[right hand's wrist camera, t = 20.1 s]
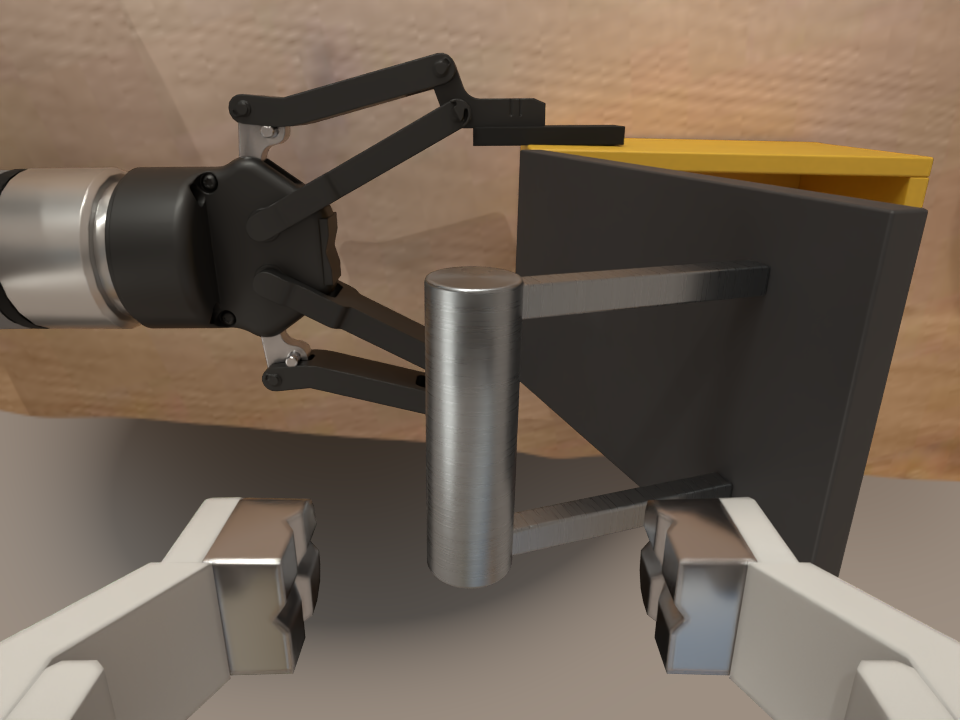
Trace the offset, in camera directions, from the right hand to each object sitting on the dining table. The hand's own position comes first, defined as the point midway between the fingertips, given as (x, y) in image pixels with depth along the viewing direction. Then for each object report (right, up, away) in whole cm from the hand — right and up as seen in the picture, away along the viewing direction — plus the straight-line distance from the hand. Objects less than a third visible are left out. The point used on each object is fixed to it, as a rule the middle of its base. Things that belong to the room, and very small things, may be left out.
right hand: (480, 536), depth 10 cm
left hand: (+6, +8, +22) cm, 24 cm away
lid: (+5, +4, +11) cm, 13 cm away
